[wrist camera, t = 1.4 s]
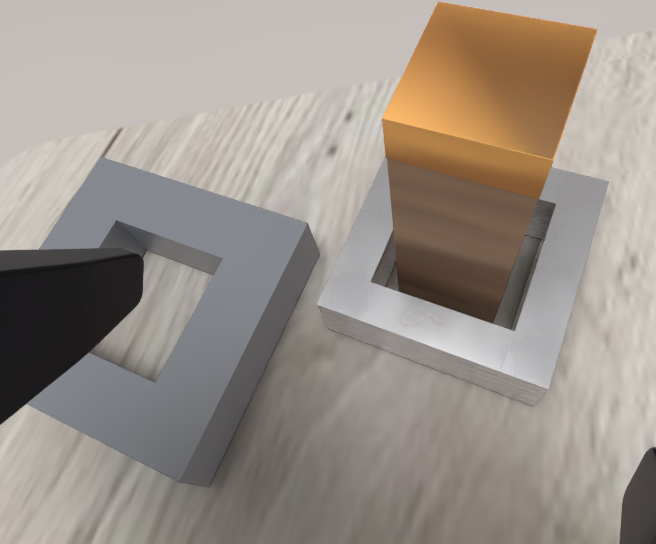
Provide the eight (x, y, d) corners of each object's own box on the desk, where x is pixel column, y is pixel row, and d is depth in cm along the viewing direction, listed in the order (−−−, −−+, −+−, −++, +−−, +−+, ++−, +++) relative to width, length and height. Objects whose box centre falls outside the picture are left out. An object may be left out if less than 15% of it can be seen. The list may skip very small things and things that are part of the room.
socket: (208, 486, 22) (179, 482, 19) (7, 385, 25) (-42, 368, 22) (319, 254, 25) (307, 222, 23) (131, 191, 29) (101, 156, 26)
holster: (532, 405, 21) (548, 389, 19) (328, 328, 24) (316, 304, 21) (587, 219, 24) (609, 181, 21) (400, 168, 27) (398, 129, 24)
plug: (490, 330, 23) (553, 160, 12) (399, 299, 24) (382, 118, 13) (518, 249, 24) (597, 29, 13) (430, 222, 25) (438, 1, 15)
